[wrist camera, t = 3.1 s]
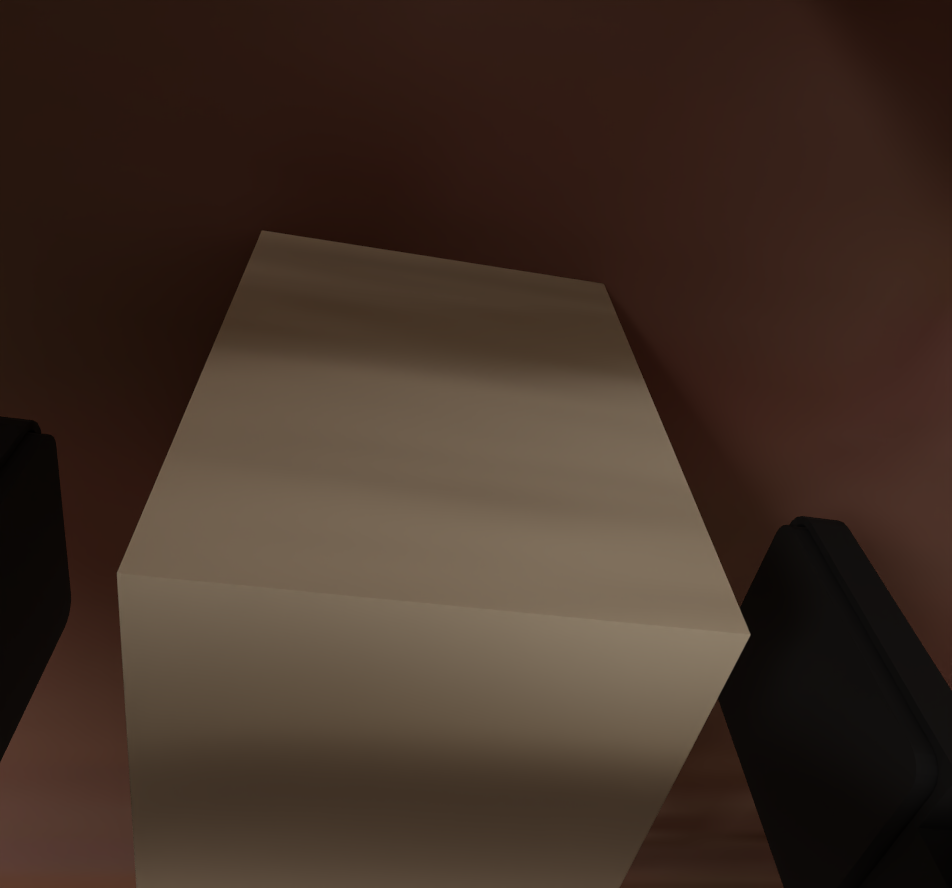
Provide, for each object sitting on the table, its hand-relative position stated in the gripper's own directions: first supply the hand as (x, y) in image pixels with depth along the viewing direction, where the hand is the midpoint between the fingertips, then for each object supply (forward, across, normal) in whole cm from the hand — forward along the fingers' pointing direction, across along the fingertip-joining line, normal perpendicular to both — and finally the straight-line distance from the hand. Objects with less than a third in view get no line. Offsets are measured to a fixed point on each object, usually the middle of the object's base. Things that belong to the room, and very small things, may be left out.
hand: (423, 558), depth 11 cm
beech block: (+3, 0, 0) cm, 3 cm away
